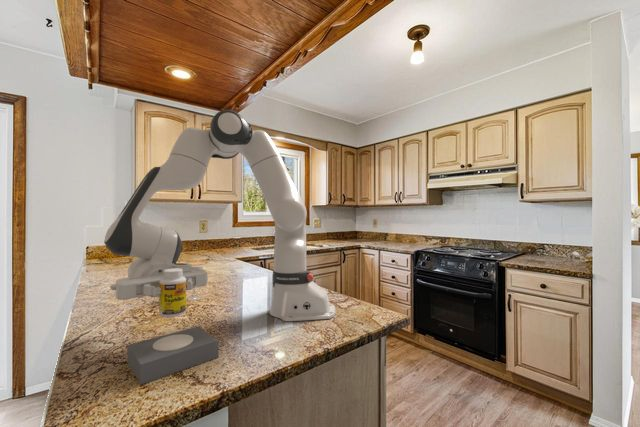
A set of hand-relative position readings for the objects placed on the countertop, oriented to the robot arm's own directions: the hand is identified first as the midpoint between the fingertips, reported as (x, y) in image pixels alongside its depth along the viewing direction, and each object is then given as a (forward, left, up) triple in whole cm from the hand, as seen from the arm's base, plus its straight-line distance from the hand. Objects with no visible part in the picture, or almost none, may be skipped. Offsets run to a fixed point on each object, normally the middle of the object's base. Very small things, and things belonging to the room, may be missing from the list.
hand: (174, 289), depth 68 cm
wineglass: (+18, -49, -17) cm, 55 cm away
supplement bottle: (+1, -1, -6) cm, 6 cm away
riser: (+1, -1, -17) cm, 17 cm away
